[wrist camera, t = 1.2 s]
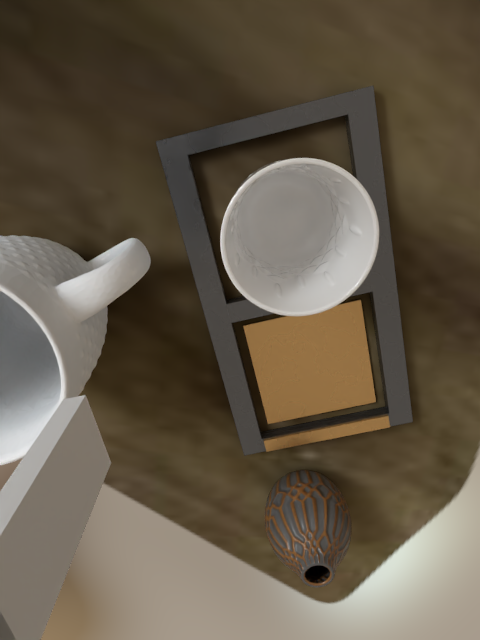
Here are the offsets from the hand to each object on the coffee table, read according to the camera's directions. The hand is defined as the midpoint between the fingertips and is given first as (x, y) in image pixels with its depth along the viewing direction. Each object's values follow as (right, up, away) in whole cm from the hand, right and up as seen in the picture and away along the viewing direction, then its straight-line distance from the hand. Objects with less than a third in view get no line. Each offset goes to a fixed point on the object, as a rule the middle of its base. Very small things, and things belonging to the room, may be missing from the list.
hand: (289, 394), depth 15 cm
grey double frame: (+3, +4, +19) cm, 20 cm away
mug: (-14, +5, +19) cm, 24 cm away
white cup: (+1, +10, +17) cm, 20 cm away
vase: (+4, -13, +26) cm, 29 cm away
